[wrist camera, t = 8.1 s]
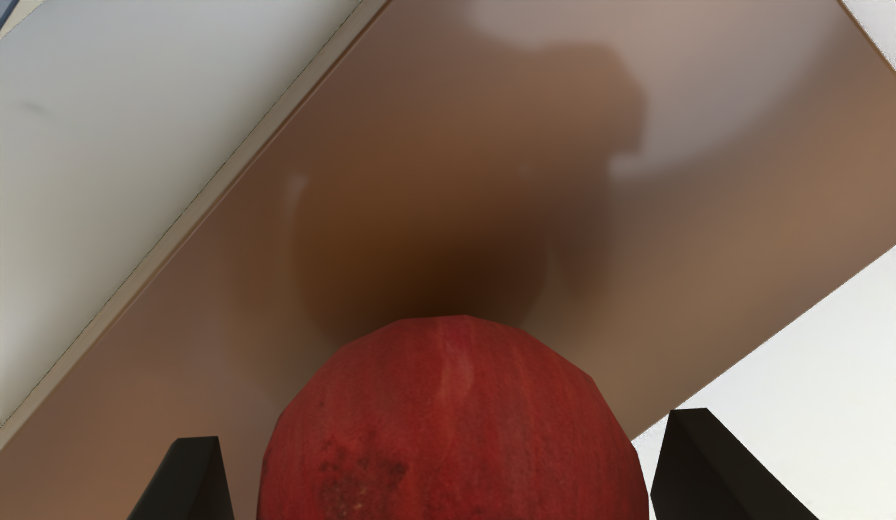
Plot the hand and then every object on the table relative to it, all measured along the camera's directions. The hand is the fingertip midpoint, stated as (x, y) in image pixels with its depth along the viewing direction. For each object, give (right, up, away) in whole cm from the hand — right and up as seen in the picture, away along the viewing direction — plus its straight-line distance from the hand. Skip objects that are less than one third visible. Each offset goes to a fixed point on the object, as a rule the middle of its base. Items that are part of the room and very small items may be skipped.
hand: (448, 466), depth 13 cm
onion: (0, +2, +2) cm, 3 cm away
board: (0, +2, +3) cm, 4 cm away
